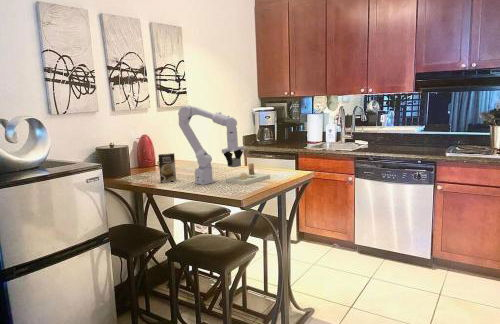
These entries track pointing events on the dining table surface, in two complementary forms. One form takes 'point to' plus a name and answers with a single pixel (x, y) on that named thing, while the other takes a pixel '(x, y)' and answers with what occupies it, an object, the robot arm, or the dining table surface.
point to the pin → (251, 169)
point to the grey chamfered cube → (235, 162)
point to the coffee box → (167, 167)
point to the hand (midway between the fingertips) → (233, 164)
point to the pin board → (247, 178)
